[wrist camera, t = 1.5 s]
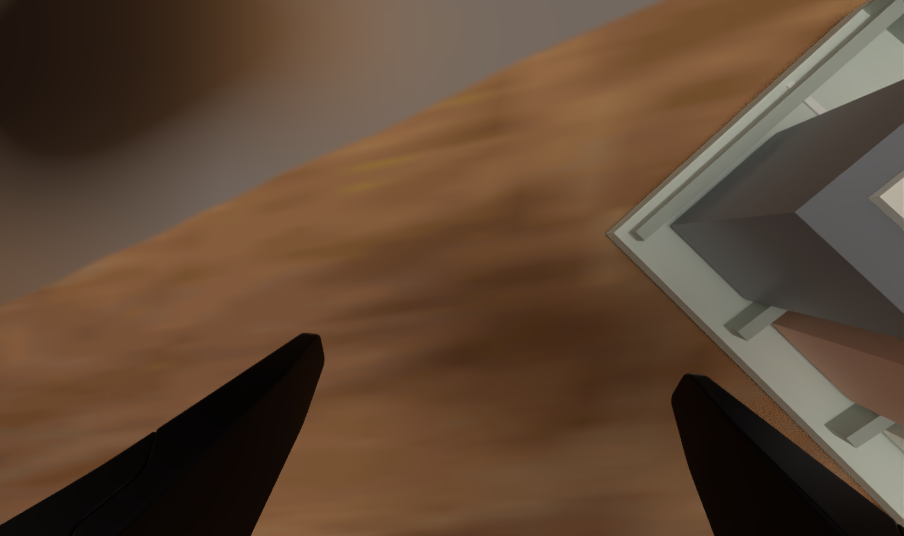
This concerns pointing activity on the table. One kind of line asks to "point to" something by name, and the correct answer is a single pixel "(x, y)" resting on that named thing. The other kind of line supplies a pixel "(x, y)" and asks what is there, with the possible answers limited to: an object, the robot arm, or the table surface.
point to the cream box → (896, 434)
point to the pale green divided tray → (749, 323)
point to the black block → (816, 217)
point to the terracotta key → (852, 360)
